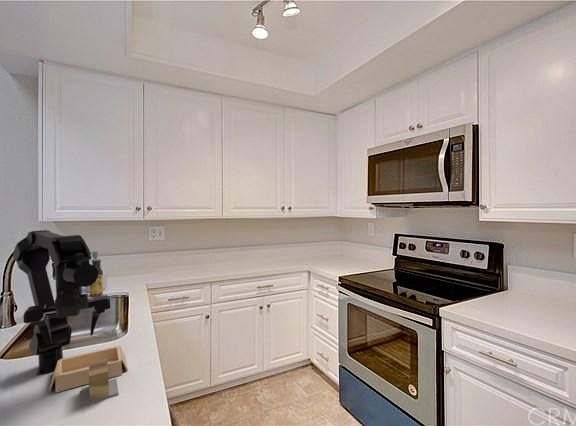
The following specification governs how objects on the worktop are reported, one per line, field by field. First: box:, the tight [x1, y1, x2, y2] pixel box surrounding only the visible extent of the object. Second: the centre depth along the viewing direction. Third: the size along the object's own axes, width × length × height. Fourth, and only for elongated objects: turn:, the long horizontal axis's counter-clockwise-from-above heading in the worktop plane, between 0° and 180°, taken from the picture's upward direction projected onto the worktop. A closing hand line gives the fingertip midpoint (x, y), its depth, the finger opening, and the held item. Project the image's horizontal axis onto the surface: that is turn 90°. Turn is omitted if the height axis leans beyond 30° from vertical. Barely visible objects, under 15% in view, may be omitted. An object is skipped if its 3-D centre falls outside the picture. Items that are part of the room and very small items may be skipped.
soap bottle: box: [85, 251, 108, 293], centre depth 183 cm, size 10×10×23 cm
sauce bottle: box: [89, 258, 104, 298], centre depth 171 cm, size 6×6×20 cm
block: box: [88, 359, 109, 401], centre depth 79 cm, size 8×4×6 cm, turn 31°
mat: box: [79, 377, 119, 408], centre depth 79 cm, size 8×8×1 cm
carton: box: [48, 345, 129, 393], centre depth 89 cm, size 14×18×4 cm
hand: (71, 339), depth 84 cm, fingers open, 9 cm apart
